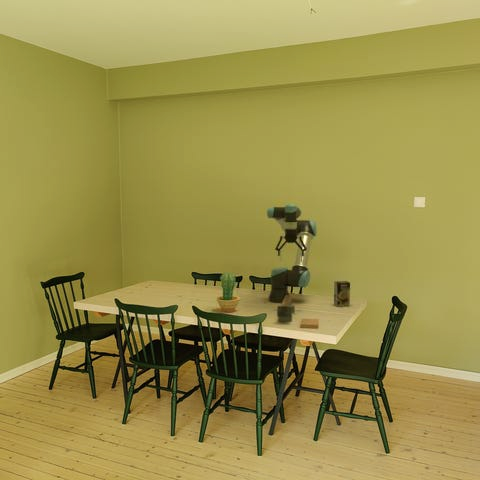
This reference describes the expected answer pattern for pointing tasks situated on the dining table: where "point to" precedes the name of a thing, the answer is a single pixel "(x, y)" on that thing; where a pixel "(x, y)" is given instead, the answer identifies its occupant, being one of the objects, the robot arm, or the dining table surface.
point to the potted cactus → (228, 293)
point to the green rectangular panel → (309, 323)
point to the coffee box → (341, 293)
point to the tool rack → (287, 317)
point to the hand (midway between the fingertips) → (290, 261)
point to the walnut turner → (285, 307)
